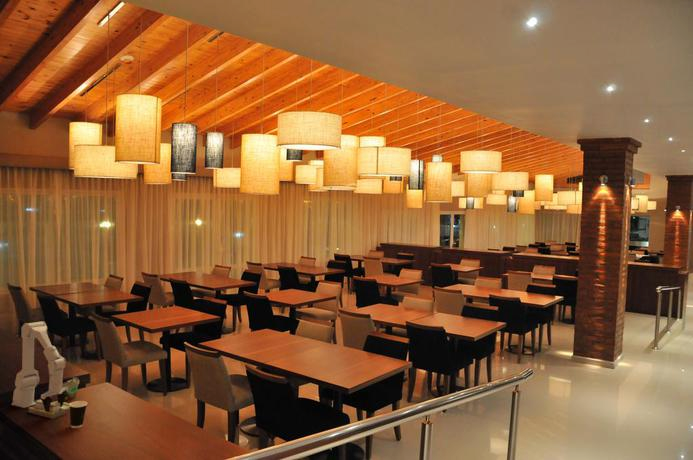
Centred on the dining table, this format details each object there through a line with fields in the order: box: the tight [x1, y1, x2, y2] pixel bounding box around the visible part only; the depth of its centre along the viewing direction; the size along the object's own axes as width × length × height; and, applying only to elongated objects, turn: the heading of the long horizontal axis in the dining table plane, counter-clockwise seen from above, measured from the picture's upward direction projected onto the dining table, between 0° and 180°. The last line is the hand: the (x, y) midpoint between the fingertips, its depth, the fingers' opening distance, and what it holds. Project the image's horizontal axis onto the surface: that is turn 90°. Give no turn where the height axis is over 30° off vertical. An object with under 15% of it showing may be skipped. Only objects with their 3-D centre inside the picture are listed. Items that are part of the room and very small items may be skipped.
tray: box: [54, 400, 70, 411], centre depth 273 cm, size 12×10×1 cm
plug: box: [49, 401, 60, 413], centre depth 263 cm, size 4×4×6 cm
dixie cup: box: [69, 400, 88, 429], centre depth 253 cm, size 8×8×11 cm
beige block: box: [34, 398, 45, 410], centre depth 266 cm, size 4×4×6 cm
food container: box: [62, 376, 80, 401], centre depth 288 cm, size 12×6×10 cm, turn 179°
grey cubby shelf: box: [28, 405, 67, 420], centre depth 265 cm, size 16×8×3 cm, turn 71°
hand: (53, 408), depth 263 cm, fingers open, 7 cm apart
